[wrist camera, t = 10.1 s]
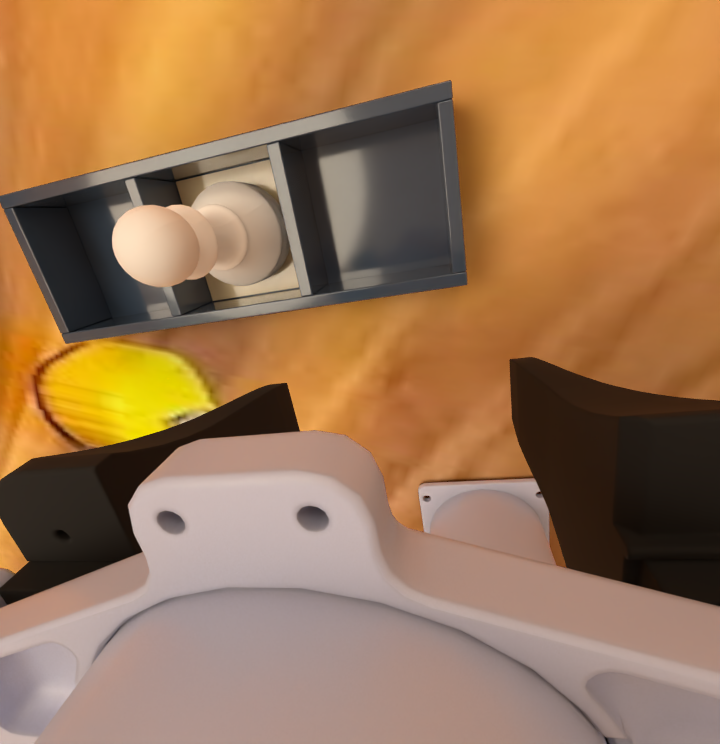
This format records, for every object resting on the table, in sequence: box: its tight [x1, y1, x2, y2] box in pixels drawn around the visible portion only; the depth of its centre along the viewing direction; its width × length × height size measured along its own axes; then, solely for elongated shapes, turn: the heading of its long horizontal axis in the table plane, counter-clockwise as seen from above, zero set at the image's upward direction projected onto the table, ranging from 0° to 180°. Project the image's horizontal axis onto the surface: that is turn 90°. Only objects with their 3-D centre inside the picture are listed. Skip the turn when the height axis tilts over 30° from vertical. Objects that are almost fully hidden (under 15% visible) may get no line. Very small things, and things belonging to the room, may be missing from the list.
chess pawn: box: [112, 181, 290, 287], centre depth 17 cm, size 5×5×9 cm
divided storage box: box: [0, 80, 468, 344], centre depth 20 cm, size 8×22×4 cm, turn 100°
